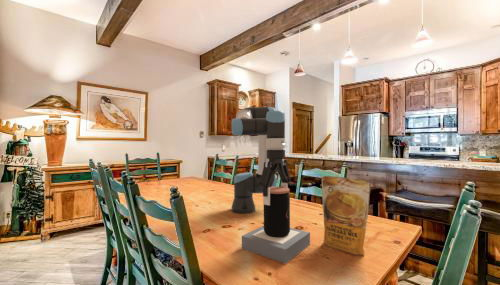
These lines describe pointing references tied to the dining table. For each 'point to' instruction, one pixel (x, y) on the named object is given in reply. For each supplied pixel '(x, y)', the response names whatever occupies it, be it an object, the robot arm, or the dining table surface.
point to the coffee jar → (277, 213)
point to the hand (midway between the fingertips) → (276, 201)
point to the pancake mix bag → (345, 213)
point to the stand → (276, 244)
